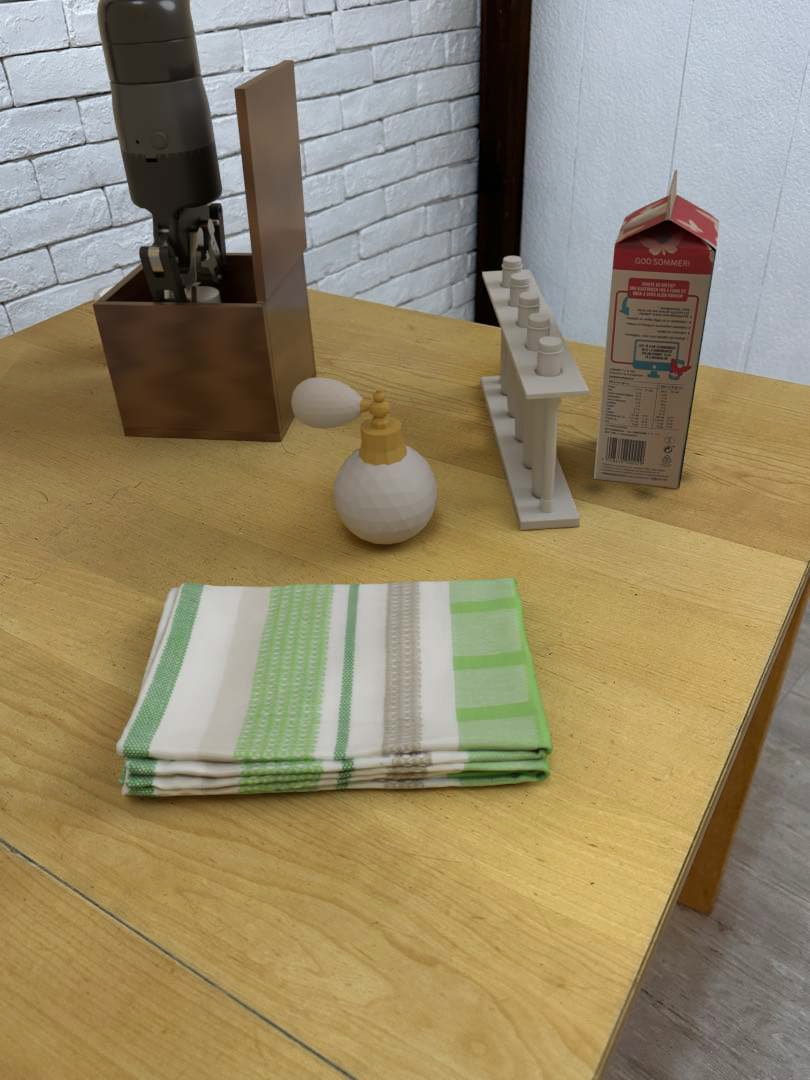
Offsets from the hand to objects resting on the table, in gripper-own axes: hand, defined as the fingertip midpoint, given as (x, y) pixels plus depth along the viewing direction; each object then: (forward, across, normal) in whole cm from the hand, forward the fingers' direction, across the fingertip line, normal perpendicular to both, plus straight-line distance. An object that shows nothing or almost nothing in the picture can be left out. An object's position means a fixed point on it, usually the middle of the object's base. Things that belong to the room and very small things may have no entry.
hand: (203, 337), depth 82 cm
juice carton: (+7, +8, +39) cm, 40 cm away
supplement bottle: (+6, 0, 0) cm, 6 cm away
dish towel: (+7, +36, +20) cm, 42 cm away
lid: (-14, 0, +8) cm, 16 cm away
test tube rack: (+7, +6, +30) cm, 31 cm away
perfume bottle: (+7, +20, +19) cm, 28 cm away
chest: (+7, 0, +1) cm, 7 cm away
